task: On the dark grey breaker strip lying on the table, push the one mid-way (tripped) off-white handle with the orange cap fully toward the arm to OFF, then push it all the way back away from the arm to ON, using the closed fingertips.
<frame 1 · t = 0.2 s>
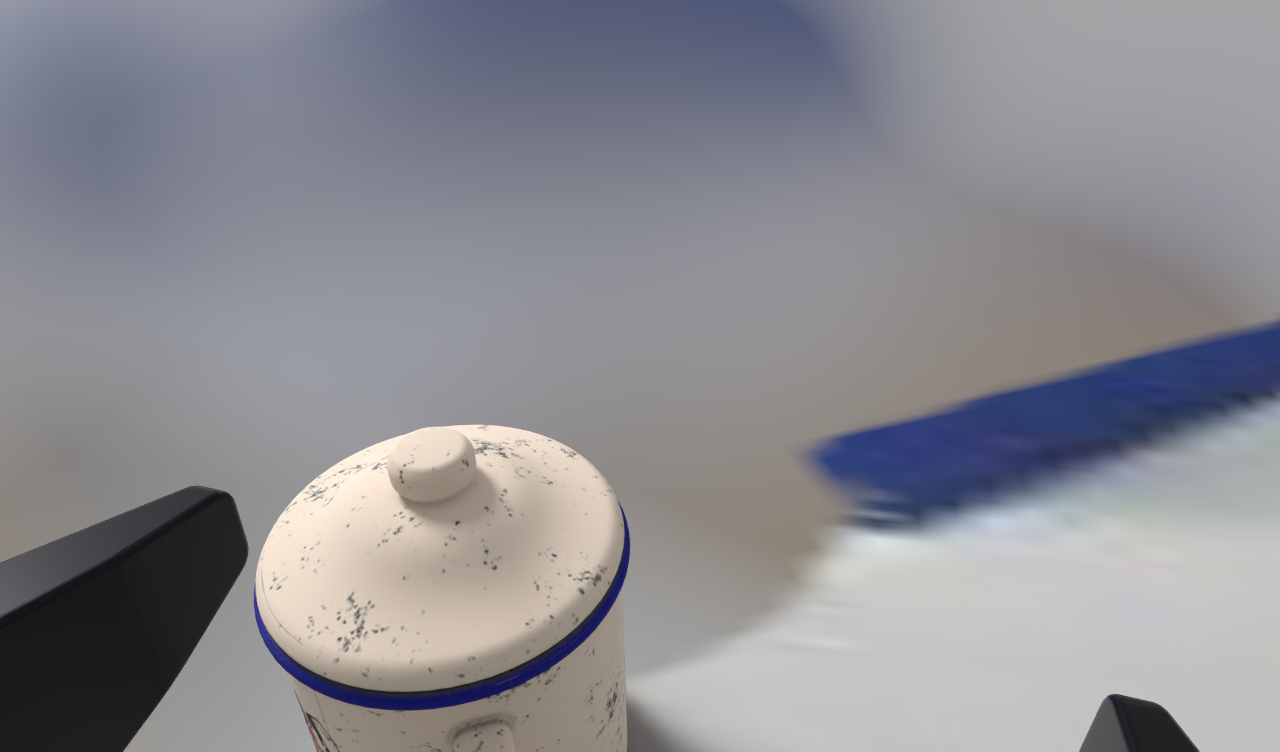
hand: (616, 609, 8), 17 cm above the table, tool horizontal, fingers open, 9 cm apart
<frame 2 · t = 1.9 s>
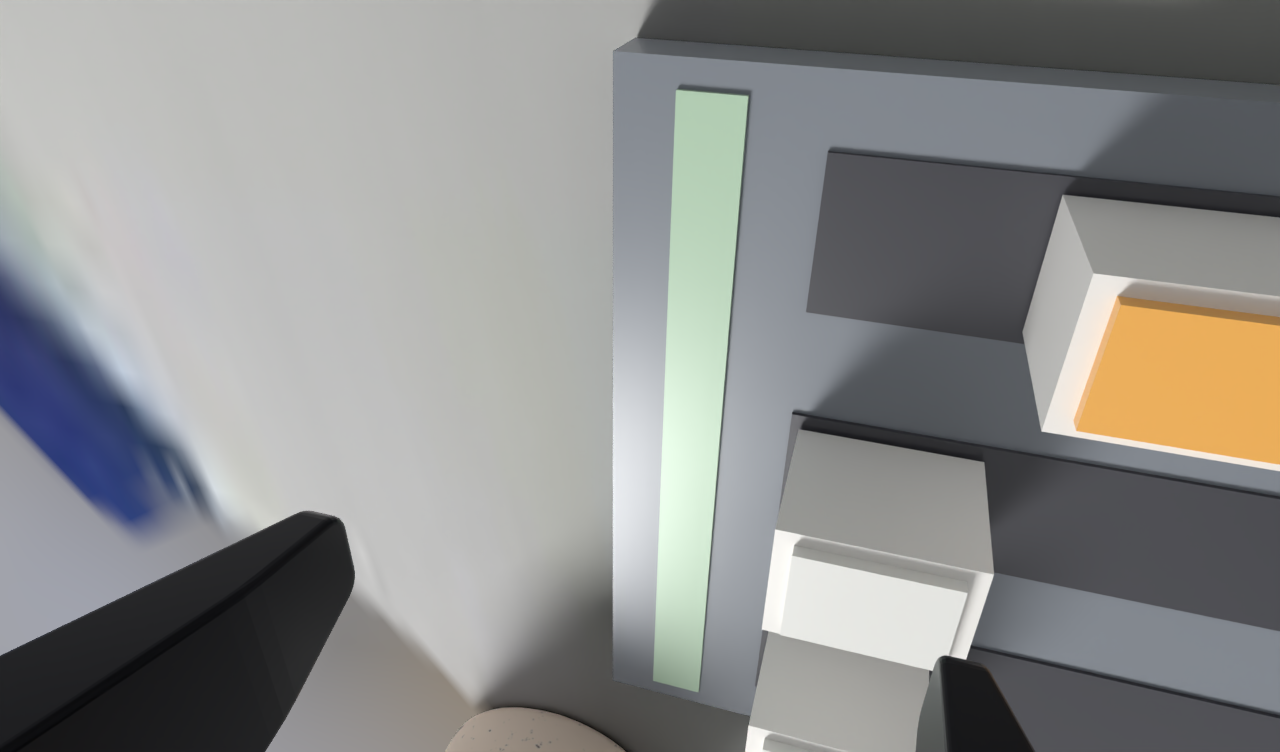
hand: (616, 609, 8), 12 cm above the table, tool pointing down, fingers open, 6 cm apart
panel: (1056, 483, 20), on the table
breaker tripped: (1185, 329, 14), point 4 cm above the table, slide at 0.0 cm
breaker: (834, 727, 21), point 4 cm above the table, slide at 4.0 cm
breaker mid: (873, 549, 18), point 4 cm above the table, slide at 4.0 cm
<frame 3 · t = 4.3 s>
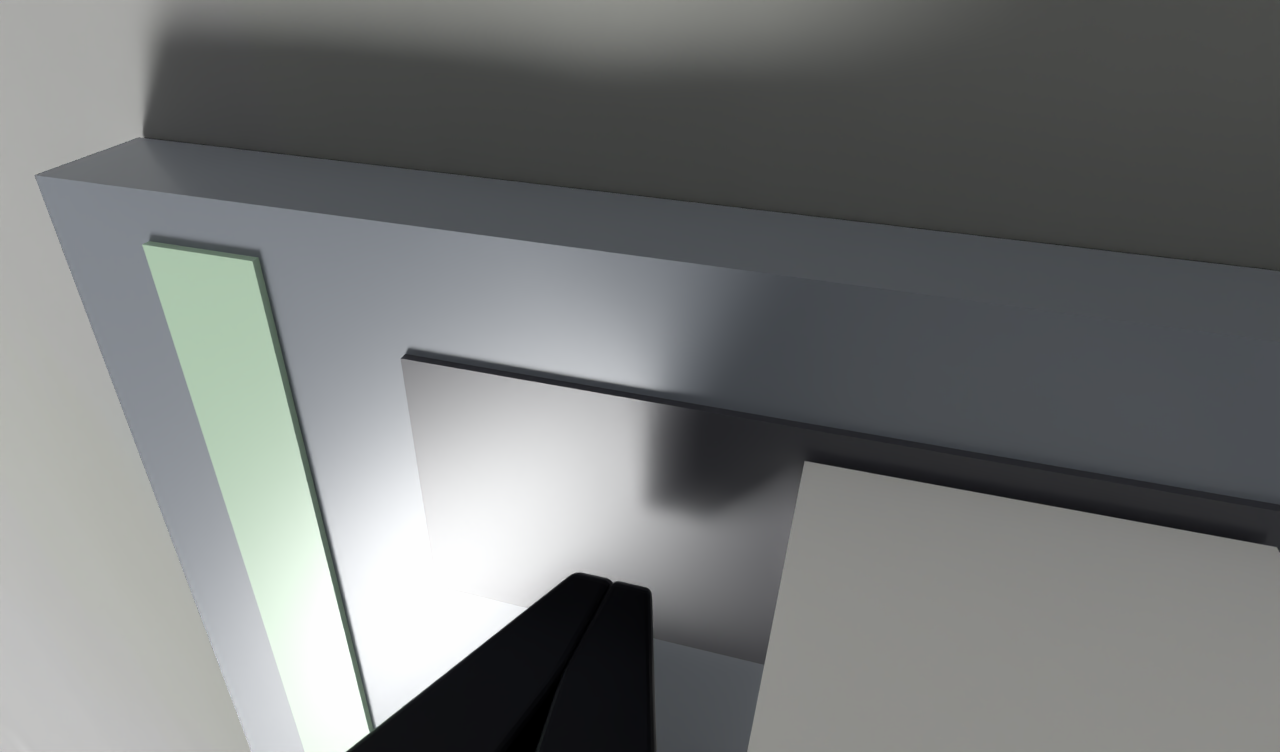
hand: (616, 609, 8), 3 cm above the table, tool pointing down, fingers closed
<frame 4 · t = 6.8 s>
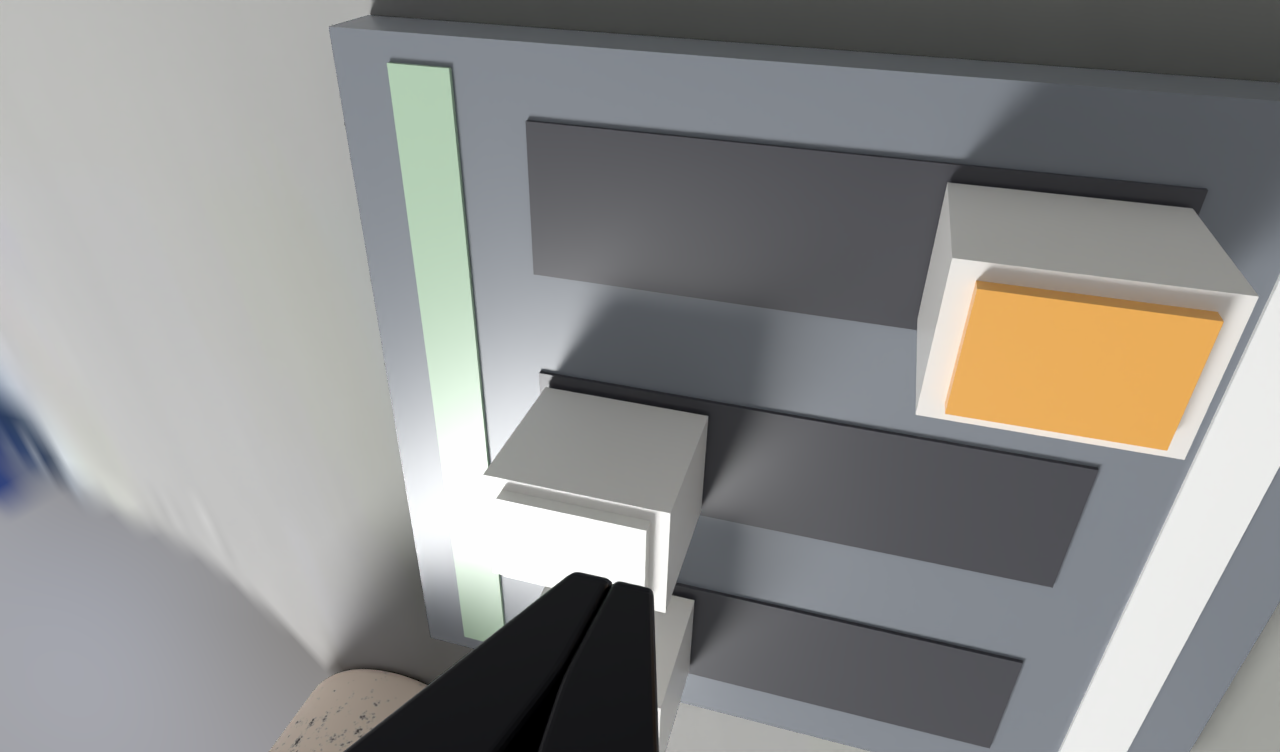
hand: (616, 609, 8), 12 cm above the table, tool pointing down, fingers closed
teacup with lid: (439, 730, 33), on the table
panel: (797, 438, 21), on the table
breaker tripped: (1057, 313, 14), point 4 cm above the table, slide at -4.0 cm
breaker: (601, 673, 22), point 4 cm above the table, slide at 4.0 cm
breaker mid: (599, 497, 19), point 4 cm above the table, slide at 4.0 cm
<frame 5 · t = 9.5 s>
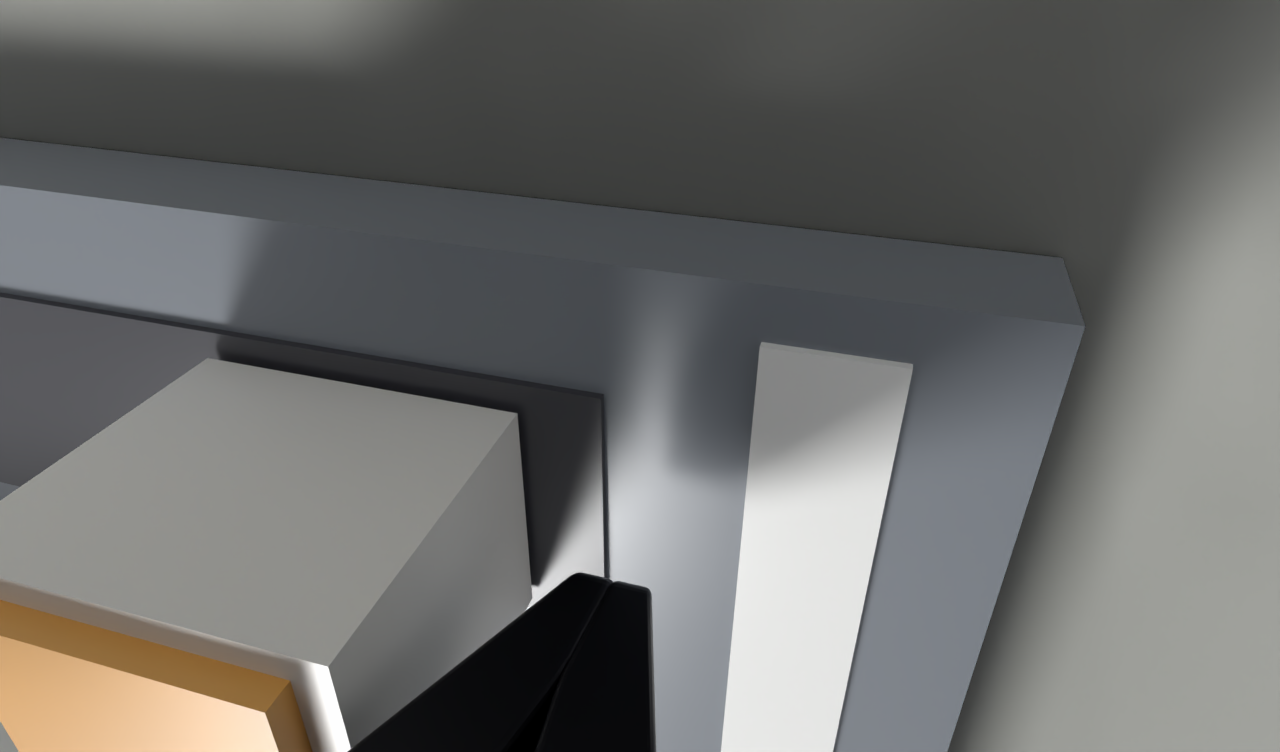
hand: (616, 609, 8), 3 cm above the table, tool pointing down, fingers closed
panel: (318, 647, 16), on the table
breaker tripped: (275, 591, 9), point 4 cm above the table, slide at -3.3 cm, touching gripper
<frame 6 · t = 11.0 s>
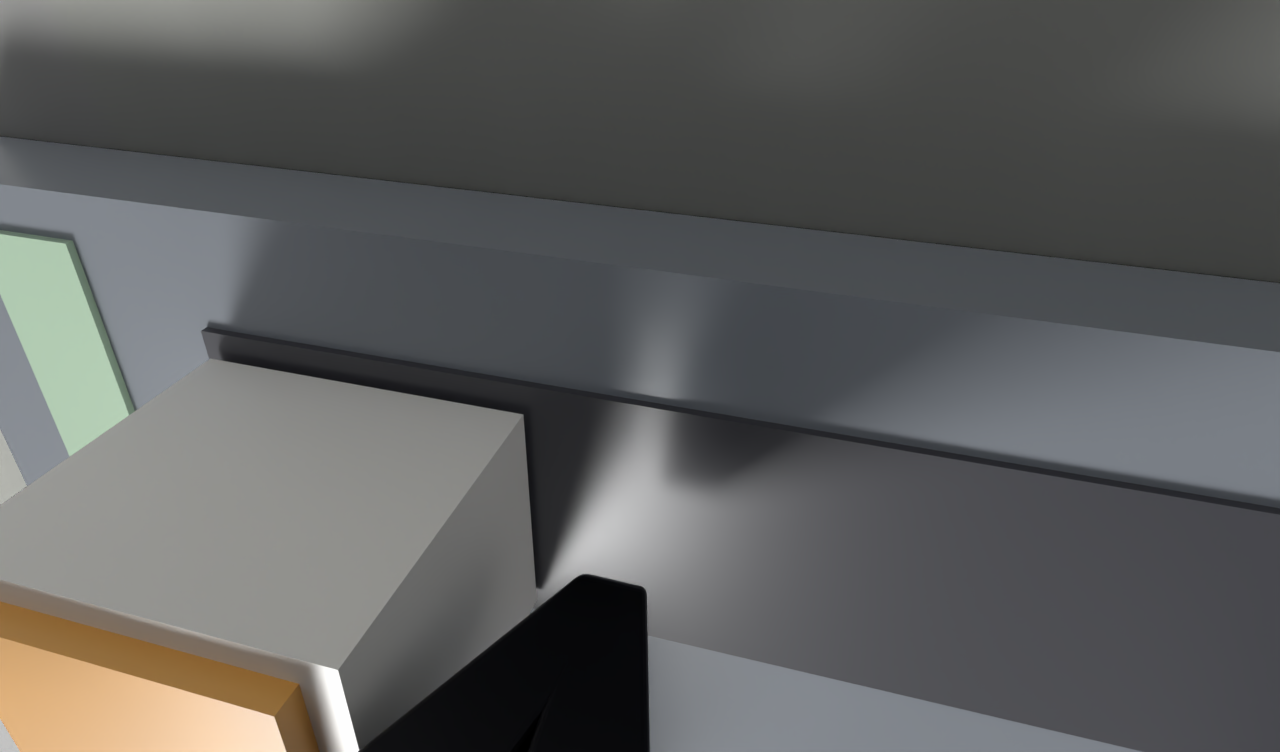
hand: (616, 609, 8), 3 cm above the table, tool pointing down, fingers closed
panel: (707, 750, 14), on the table
breaker tripped: (280, 593, 9), point 4 cm above the table, slide at 4.1 cm, touching gripper
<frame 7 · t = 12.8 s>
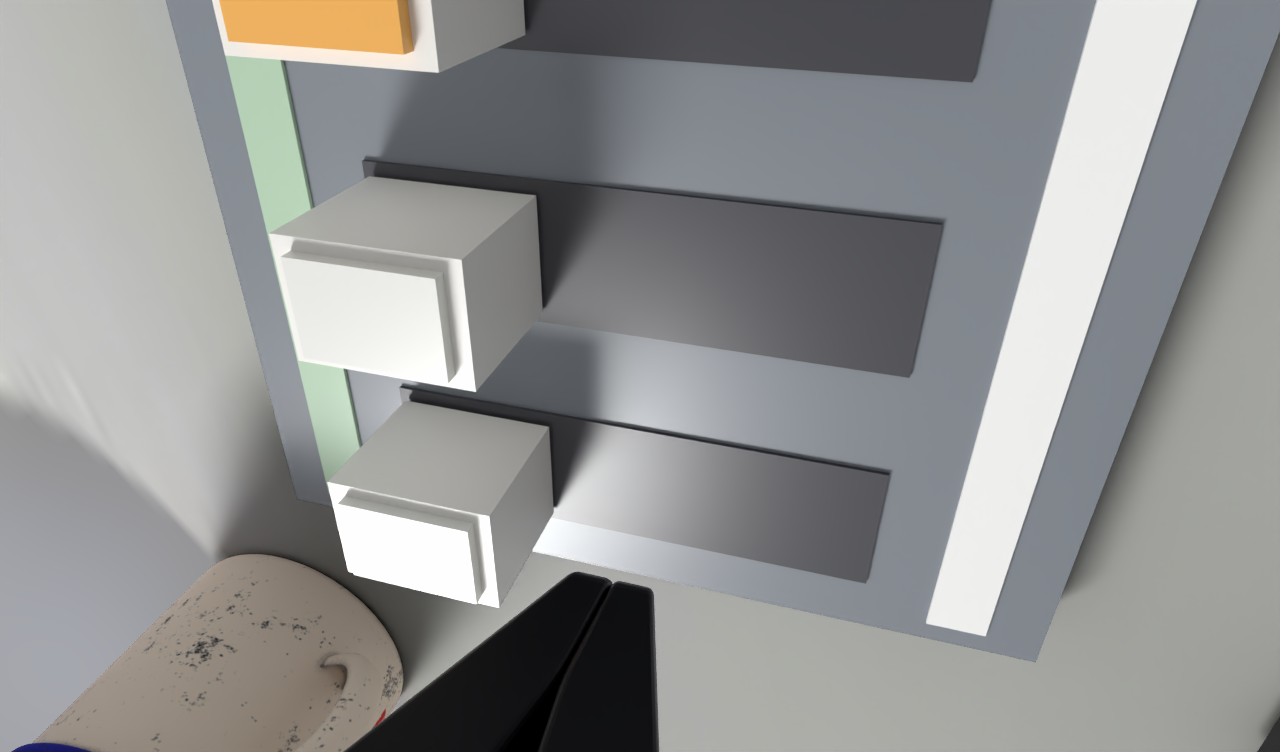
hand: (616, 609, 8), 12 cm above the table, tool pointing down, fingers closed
teacup with lid: (332, 623, 31), on the table
panel: (647, 238, 20), on the table
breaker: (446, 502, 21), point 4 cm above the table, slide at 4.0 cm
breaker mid: (415, 279, 17), point 4 cm above the table, slide at 4.0 cm
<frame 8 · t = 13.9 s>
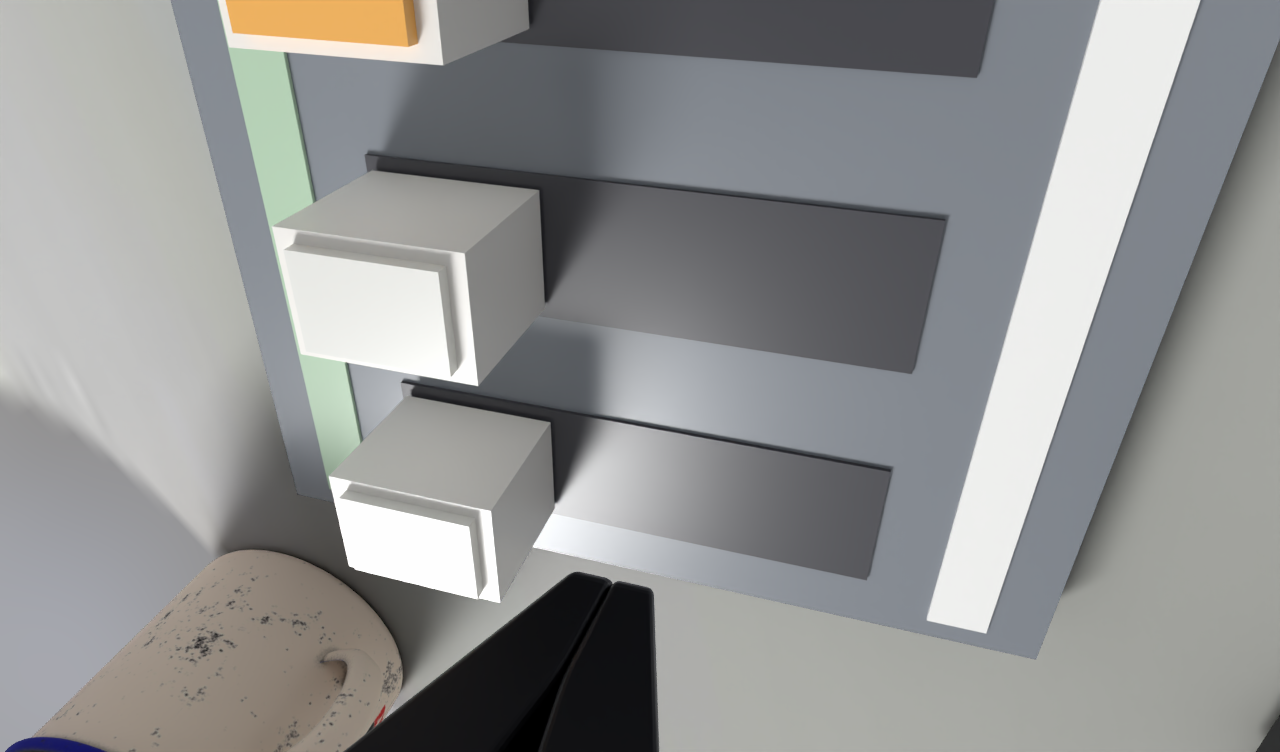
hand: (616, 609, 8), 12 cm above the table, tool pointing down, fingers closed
teacup with lid: (332, 619, 31), on the table
panel: (650, 234, 19), on the table
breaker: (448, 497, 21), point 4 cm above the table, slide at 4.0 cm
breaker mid: (418, 274, 17), point 4 cm above the table, slide at 4.0 cm
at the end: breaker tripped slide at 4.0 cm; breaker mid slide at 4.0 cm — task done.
